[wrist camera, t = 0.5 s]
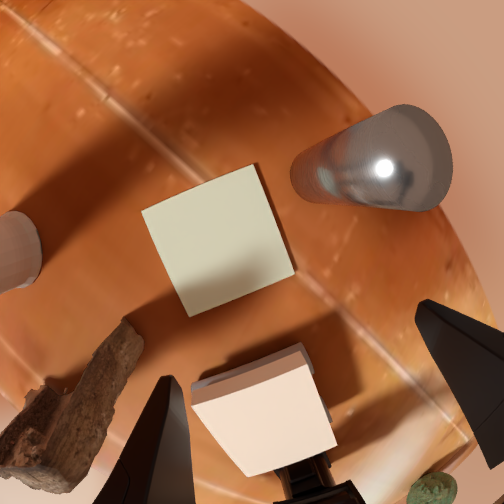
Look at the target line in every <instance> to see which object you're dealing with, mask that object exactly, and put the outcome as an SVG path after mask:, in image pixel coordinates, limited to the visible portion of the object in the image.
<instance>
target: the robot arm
mask: <svg viewBox="0 0 504 504" xmlns="http://www.w3.org/2000/svg"><path fill="white" fill-rule="evenodd" d="M415 323H416V325H417V327H418V329H419V331H420V333H421V336H422V338H423V340H424V342H425V344H426V346H427V348H428V350H429V352H430V354H431V356H432V358H433V359H434V361H435V363H436V364H437V366H438V368H439V369H440V371H441V373H442V375H443V376H444V378H445V380H446V382H447V383H448V385H449V387H450V389H451V391H452V392H453V394H454V396H455V398H456V400H457V402H458V403H459V405H460V407H461V409H462V411H463V413H464V415H465V417H466V419H467V421H468V423H469V425H470V427H471V429H472V431H473V432H474V435H475V438H476V440H477V442H478V444H479V446H480V448H481V450H482V453H483V455H484V457H485V459H486V462H487V464H488V467H489V468H490V470H491V469H492V468H494V467H496V466H497V465H499V464H500V463H502V462H503V461H504V332H501V331H499V330H497V329H495V328H493V327H491V326H488V325H486V324H484V323H482V322H480V321H477V320H475V319H473V318H471V317H468V316H466V315H464V314H462V313H460V312H457V311H455V310H453V309H450V308H448V307H446V306H444V305H441V304H439V303H437V302H435V301H432V300H430V299H426V300H423V301H421V302H419V304H418V307H417V311H416V314H415ZM119 458H120V459H118V461H117V463H116V465H115V467H114V469H113V471H112V472H111V474H110V476H109V478H108V480H107V481H106V483H105V485H104V487H103V488H102V490H101V491H100V493H99V494H98V496H97V497H96V499H95V500H94V502H93V503H92V504H196V502H195V493H194V483H193V472H192V460H191V447H190V433H189V426H188V421H187V415H186V409H185V403H184V397H183V392H182V389H181V387H180V385H179V384H178V382H177V381H176V379H175V378H174V376H173V375H166V376H161V377H160V378H159V380H158V382H157V384H156V386H155V388H154V390H153V392H152V394H151V396H150V398H149V400H148V401H147V403H146V405H145V407H144V409H143V411H142V413H141V415H140V417H139V419H138V421H137V423H136V425H135V427H134V429H133V431H132V433H131V435H130V437H129V439H128V441H127V443H126V445H125V447H124V449H123V451H122V453H121V455H120V457H119ZM329 468H331V464H330V461H329V459H328V457H327V455H326V452H325V451H323V452H321V453H319V454H316V455H314V456H311V457H309V458H306V459H303V460H301V461H298V462H295V463H292V464H290V465H287V466H284V467H281V468H278V469H275V470H273V471H274V472H275V473H276V475H277V476H278V477H279V479H280V480H281V483H282V486H283V490H284V494H285V498H286V500H284V501H280V502H278V501H277V502H273V504H366V503H365V501H364V499H363V498H362V496H361V495H360V493H359V492H358V490H357V489H356V487H355V486H354V484H353V483H352V481H351V480H348V481H346V482H344V483H341V484H339V485H336V484H335V481H334V479H333V477H332V474H331V472H330V470H329ZM493 504H504V494H503V495H502V496H501V497H500V498H499V499H498V500H497V501H496V502H495V503H493Z"/></svg>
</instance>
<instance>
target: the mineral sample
mask: <svg viewBox="0 0 504 504" xmlns="http://www.w3.org/2000/svg"><path fill="white" fill-rule="evenodd" d="M143 350H144V340H143V338H142V337H141V335H137V334H136V332H135V330H134V328H133V327H132V325H131V324H130V323H129V322H128V321H127V319H126V318H125V317H123V318H122V319H121V323H120V325H119V326H118V327H117V328H116V329H115V330H114V331H113V332H112V333H111V334H110V335H109V336H108V337H107V338H106V339H105V340H104V341H103V342H102V343H101V345H100V346H99V347H98V348H97V349H96V351H95V352H94V353H93V354H92V355H93V358H92V359H91V361H90V362H89V363H88V367H87V368H86V369H85V370H84V372H83V375H82V377H81V380H80V381H79V383H78V385H77V386H76V388H75V390H74V391H73V392H71V393H70V394H67V395H63V396H59V395H58V394H56V393H55V392H54V391H53V390H52V389H51V388H49V387H48V386H40V389H38V390H33V389H31V390H30V391H29V392H28V393H27V395H26V396H25V397H24V398H26V401H25V405H24V407H23V410H22V411H21V412H20V413H19V414H18V415H17V416H16V417H15V418H14V419H13V420H12V421H11V423H10V424H9V425H8V426H7V427H6V428H5V429H4V430H3V431H2V432H1V434H0V477H2V478H4V479H9V478H10V477H11V476H13V477H15V478H16V479H19V480H21V481H22V482H23V483H24V484H25V485H27V486H29V487H30V488H32V489H35V490H36V489H38V490H39V489H43V490H44V491H46V492H50V493H55V494H61V493H70V492H71V491H72V490H73V489H74V488H75V487H76V486H77V485H78V484H79V483H80V482H81V481H82V480H83V479H84V478H85V477H86V476H87V474H88V471H89V469H90V467H91V464H92V462H93V460H94V457H95V456H96V455H97V454H98V452H99V450H100V448H101V447H102V444H103V442H104V440H105V437H106V436H107V428H108V426H109V424H110V423H111V421H112V417H113V415H114V413H115V409H114V407H113V406H114V404H115V403H116V400H117V398H118V396H119V395H120V394H121V392H122V390H123V389H124V386H125V385H126V383H127V378H128V377H129V376H130V375H131V373H132V372H133V370H134V369H135V365H136V363H137V360H138V358H139V356H140V355H141V353H142V351H143ZM67 391H68V388H65V390H64V393H63V394H66V392H67Z"/></svg>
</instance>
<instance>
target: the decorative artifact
mask: <svg viewBox="0 0 504 504" xmlns="http://www.w3.org/2000/svg"><path fill="white" fill-rule="evenodd" d="M456 494H457V483H456V480H455V479H454V478H453V477H452V476H451V475H449V474H446V473H444V472H432V473H429V474H427V475H425V476H423V477H421V478H420V479H419V480H418V481H416V482H415V484H414V485H413V486H412V487H411V489H410V491H409V493H408V496H407V504H452V503H453V501H454V499H455V497H456Z"/></svg>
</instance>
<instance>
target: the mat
mask: <svg viewBox="0 0 504 504" xmlns="http://www.w3.org/2000/svg"><path fill="white" fill-rule="evenodd" d="M141 212H142V215H143V217H144V220H145V222H146V225H147V227H148V229H149V232H150V234H151V237H152V239H153V241H154V244H155V246H156V248H157V250H158V253H159V255H160V257H161V259H162V262H163V264H164V266H165V268H166V270H167V273H168V275H169V277H170V279H171V281H172V283H173V285H174V287H175V290H176V292H177V294H178V296H179V298H180V300H181V302H182V304H183V306H184V308H185V310H186V312H187V314H188V316H189V317H191V316H194V315H196V314H199V313H201V312H204V311H206V310H209V309H211V308H214V307H217V306H219V305H222V304H224V303H227V302H229V301H232V300H234V299H236V298H239V297H241V296H244V295H246V294H249V293H251V292H254V291H256V290H258V289H261V288H263V287H266V286H268V285H270V284H273V283H275V282H277V281H280V280H282V279H285V278H287V277H289V276H292V275H294V274H295V273H294V270H293V267H292V264H291V262H290V259H289V256H288V254H287V251H286V248H285V245H284V243H283V240H282V237H281V235H280V232H279V229H278V227H277V224H276V222H275V219H274V216H273V214H272V211H271V209H270V206H269V203H268V201H267V198H266V196H265V193H264V191H263V188H262V185H261V183H260V180H259V178H258V175H257V173H256V170H255V168H254V165H253V164H252V165H249V166H247V167H244V168H241V169H239V170H236V171H233V172H231V173H228V174H226V175H223V176H221V177H218V178H216V179H213V180H211V181H208V182H206V183H204V184H201V185H199V186H196V187H194V188H192V189H189V190H187V191H185V192H182V193H180V194H178V195H176V196H173V197H171V198H169V199H167V200H164V201H162V202H160V203H158V204H156V205H153V206H151V207H149V208H147V209H145V210H143V211H141Z"/></svg>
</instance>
